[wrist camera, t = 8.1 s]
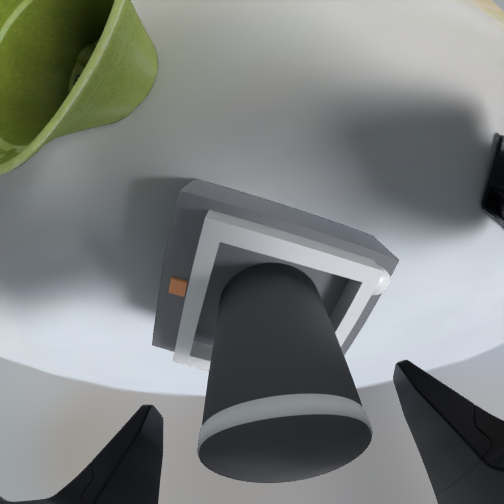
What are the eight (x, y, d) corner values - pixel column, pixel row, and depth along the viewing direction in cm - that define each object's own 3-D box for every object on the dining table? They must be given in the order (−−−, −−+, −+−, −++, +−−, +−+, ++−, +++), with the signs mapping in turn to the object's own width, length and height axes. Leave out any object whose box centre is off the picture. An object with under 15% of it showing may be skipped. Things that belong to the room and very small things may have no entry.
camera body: (372, 235, 16) (410, 270, 11) (316, 346, 19) (329, 394, 15) (194, 178, 14) (171, 196, 10) (165, 311, 18) (146, 359, 13)
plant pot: (58, 34, 10) (-29, 7, 2) (192, -4, 10) (150, -93, 2) (53, 161, 13) (-50, 194, 5) (188, 141, 14) (114, 148, 6)
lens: (324, 334, 14) (364, 465, 7) (233, 352, 15) (227, 486, 7) (314, 251, 12) (384, 393, 5) (205, 274, 13) (165, 427, 5)
